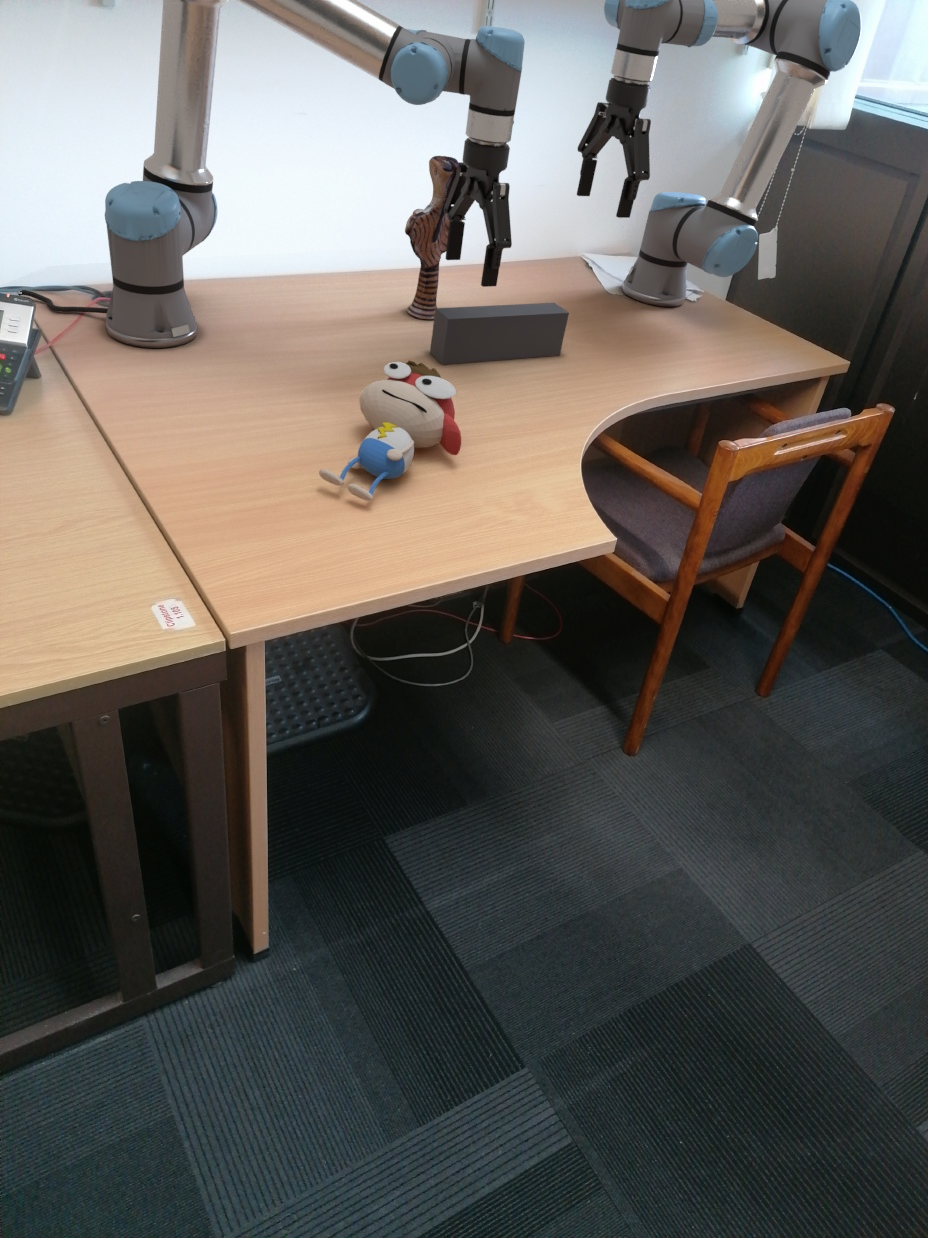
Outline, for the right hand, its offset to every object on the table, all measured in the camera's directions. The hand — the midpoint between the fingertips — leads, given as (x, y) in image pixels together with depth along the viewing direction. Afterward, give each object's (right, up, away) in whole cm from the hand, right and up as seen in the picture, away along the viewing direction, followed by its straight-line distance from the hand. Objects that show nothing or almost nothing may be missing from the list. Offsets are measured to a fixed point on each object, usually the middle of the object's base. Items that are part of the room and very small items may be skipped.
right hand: (602, 206), depth 172 cm
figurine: (-35, -17, +12) cm, 41 cm away
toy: (-38, -55, -37) cm, 76 cm away
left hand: (-26, -18, -13) cm, 34 cm away
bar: (-21, -28, +1) cm, 35 cm away
